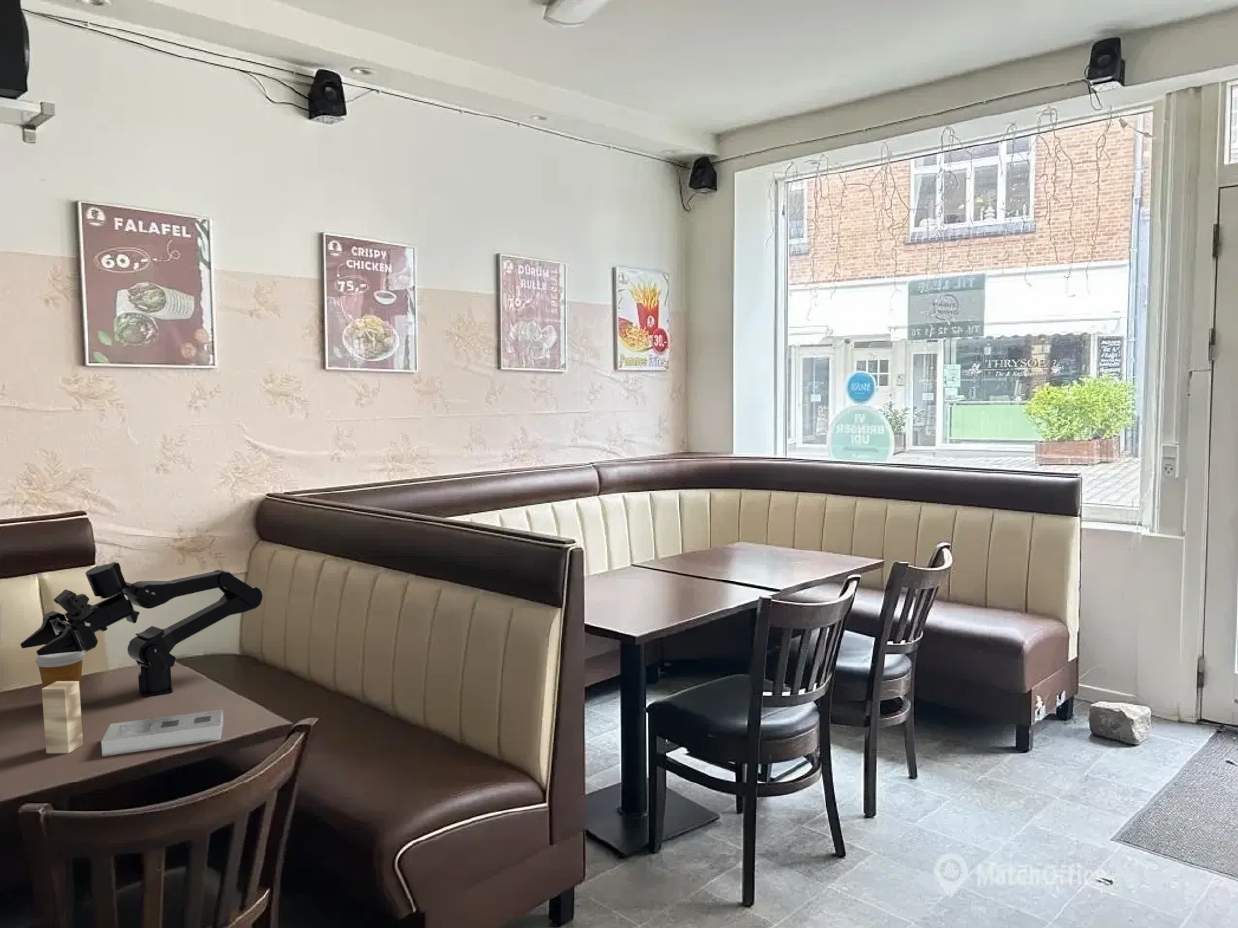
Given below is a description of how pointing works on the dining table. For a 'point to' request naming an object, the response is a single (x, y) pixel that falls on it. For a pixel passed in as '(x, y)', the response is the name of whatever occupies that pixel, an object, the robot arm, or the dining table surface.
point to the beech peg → (62, 716)
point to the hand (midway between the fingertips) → (29, 649)
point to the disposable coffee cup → (60, 667)
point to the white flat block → (162, 732)
